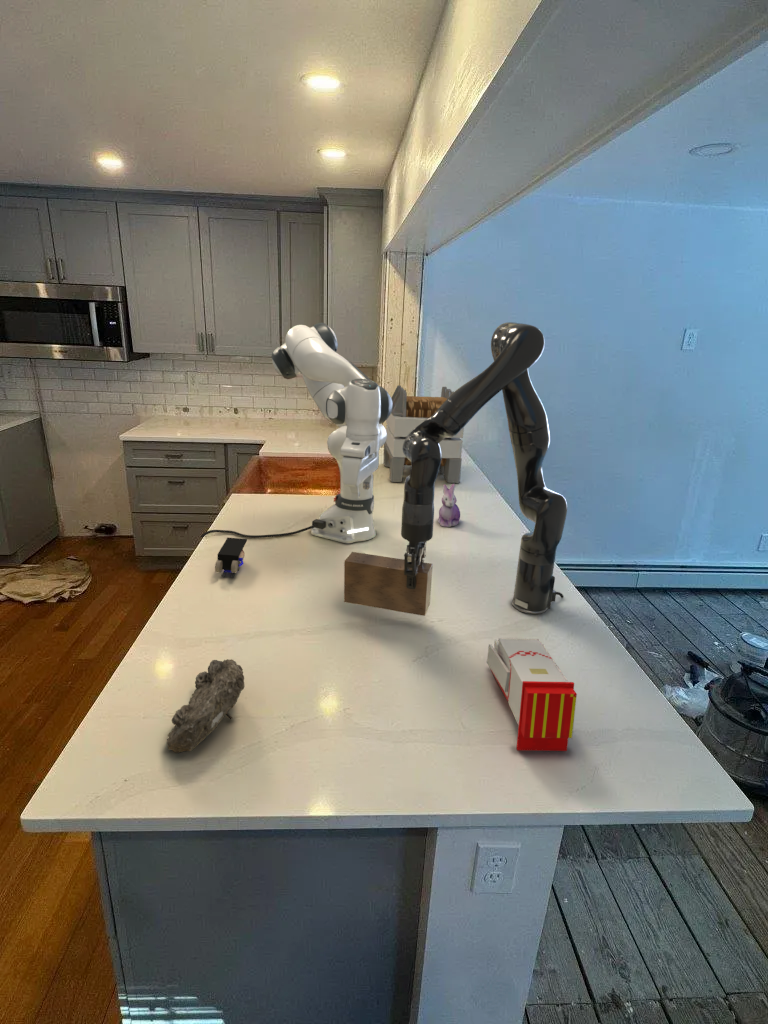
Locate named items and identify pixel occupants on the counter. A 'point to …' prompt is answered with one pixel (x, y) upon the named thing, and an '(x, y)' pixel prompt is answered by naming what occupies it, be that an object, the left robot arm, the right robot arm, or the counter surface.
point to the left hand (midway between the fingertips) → (361, 493)
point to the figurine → (449, 508)
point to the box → (386, 584)
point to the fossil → (206, 705)
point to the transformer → (407, 418)
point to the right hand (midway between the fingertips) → (414, 582)
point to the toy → (534, 693)
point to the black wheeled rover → (230, 556)
